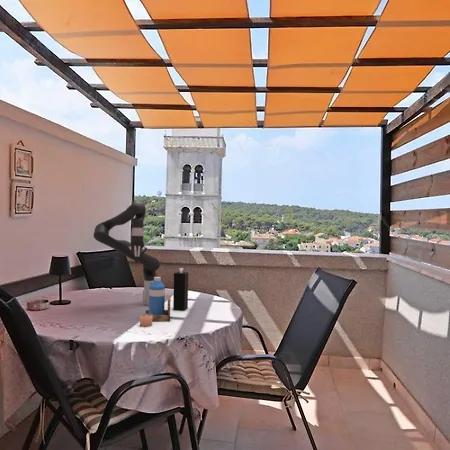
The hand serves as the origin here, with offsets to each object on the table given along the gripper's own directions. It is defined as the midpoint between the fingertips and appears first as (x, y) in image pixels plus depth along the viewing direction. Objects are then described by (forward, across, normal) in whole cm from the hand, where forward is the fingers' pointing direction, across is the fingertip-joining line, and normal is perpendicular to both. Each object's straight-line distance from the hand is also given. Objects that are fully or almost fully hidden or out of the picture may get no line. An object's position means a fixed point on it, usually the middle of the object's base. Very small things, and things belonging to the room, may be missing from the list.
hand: (137, 262), depth 268 cm
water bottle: (+33, +13, -10) cm, 37 cm away
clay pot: (+33, +7, -26) cm, 43 cm away
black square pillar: (+33, +29, +12) cm, 46 cm away
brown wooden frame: (+33, +13, -11) cm, 37 cm away
